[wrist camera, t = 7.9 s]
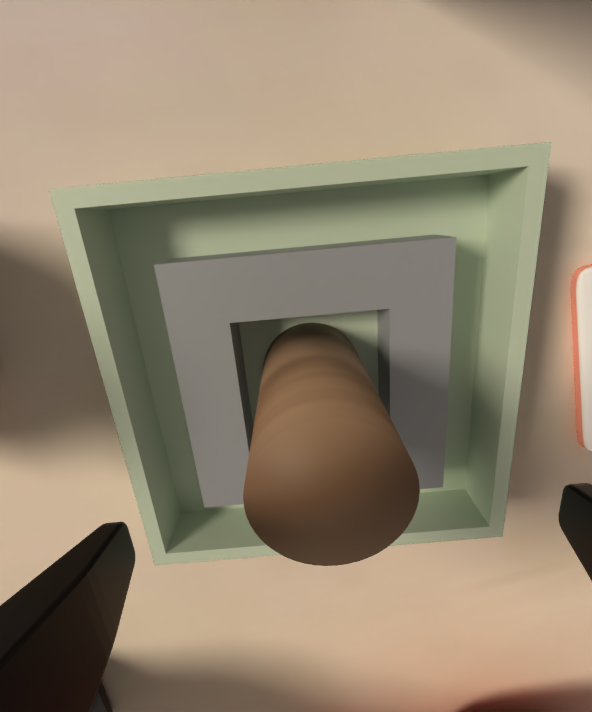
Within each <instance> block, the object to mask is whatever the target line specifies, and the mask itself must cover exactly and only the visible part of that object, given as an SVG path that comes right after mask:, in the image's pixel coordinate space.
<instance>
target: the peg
mask: <svg viewBox="0 0 592 712" xmlns="http://www.w3.org/2000/svg"><path fill="white" fill-rule="evenodd" d="M419 494H420V486H419V478H418V474H417V471H416V468H415V466H414V463H413V461H412V459H411V457H410V455H409V454H408V452H407V450H406V448H405V446H404V444H403V442H402V440H401V438H400V436H399V434H398V432H397V430H396V428H395V426H394V424H393V422H392V420H391V418H390V416H389V415H388V413H387V411H386V409H385V407H384V405H383V403H382V401H381V399H380V397H379V395H378V393H377V391H376V389H375V387H374V385H373V383H372V381H371V379H370V377H369V375H368V374H367V372H366V370H365V368H364V366H363V364H362V362H361V360H360V358H359V356H358V354H357V352H356V350H355V348H354V346H353V345H352V343H351V342H350V340H349V339H348V338H347V337H346V336H345V335H344V334H343V333H342V332H340V331H339V330H337V329H336V328H334V327H332V326H329V325H326V324H322V323H302V324H298V325H295V326H292V327H290V328H288V329H286V330H285V331H283V332H282V333H281V334H279V335H278V336H277V337H276V338H275V339H274V341H273V342H272V343H271V345H270V346H269V348H268V350H267V353H266V355H265V360H264V365H263V371H262V377H261V384H260V390H259V396H258V402H257V409H256V415H255V421H254V427H253V433H252V440H251V446H250V452H249V458H248V465H247V471H246V477H245V483H244V491H243V502H244V509H245V513H246V517H247V519H248V521H249V524H250V525H251V527H252V529H253V530H254V532H255V533H256V534H257V536H258V537H259V538H260V539H261V540H262V541H263V542H264V543H265V544H266V545H267V546H268V547H270V548H271V549H273V550H274V551H275V552H277V553H279V554H281V555H283V556H285V557H287V558H289V559H292V560H294V561H298V562H302V563H306V564H312V565H322V566H331V565H342V564H349V563H353V562H357V561H360V560H363V559H366V558H368V557H370V556H373V555H375V554H377V553H379V552H380V551H382V550H384V549H385V548H387V547H388V546H389V545H391V544H392V543H393V542H394V541H395V540H396V539H398V538H399V537H400V536H401V535H402V533H403V532H404V531H405V530H406V528H407V527H408V525H409V524H410V522H411V521H412V519H413V517H414V514H415V512H416V509H417V506H418V502H419Z"/></svg>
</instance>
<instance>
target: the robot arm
mask: <svg viewBox="0 0 592 712" xmlns="http://www.w3.org/2000/svg"><path fill="white" fill-rule="evenodd" d="M559 523H560V526H561V529H562V531H563V532H564V534H565V536H566V538H567V539H568V541H569V543H570V544H571V546H572V548H573V550H574V551H575V553H576V555H577V556H578V558H579V560H580V562H581V563H582V565H583V567H584V568H585V570H586V572H587V574H588V575H589V577H590V579H591V580H592V485H591V484H588V483H580V484H570V485H567V486H566V487H565V488H564V490H563V494H562V500H561V505H560V511H559ZM134 564H135V550H134V547H133V544H132V540H131V537H130V534H129V530H128V527H127V525H126V524H125V523H123V522H114V523H106V524H103V525H101V526H100V527H99V528H97V529H96V530H95V531H94V532H92V533H91V534H90V535H89V536H87V537H86V538H85V539H84V540H82V541H81V542H80V543H79V544H77V545H76V546H75V547H73V548H72V549H71V550H70V551H68V552H67V553H66V554H65V555H63V556H62V557H61V558H60V559H58V560H57V561H56V562H55V563H53V564H52V565H51V566H50V567H48V568H47V569H46V570H45V571H43V572H42V573H41V574H40V575H38V576H37V577H36V578H35V579H33V580H32V581H31V582H30V583H28V584H27V585H26V586H24V587H23V588H22V589H21V590H19V591H18V592H17V593H16V594H14V595H13V596H12V597H11V598H9V599H8V600H7V601H6V602H4V603H3V604H2V605H1V606H0V712H112V709H111V707H110V704H109V702H108V699H107V697H106V694H105V692H104V689H103V687H102V684H101V682H100V681H101V679H102V676H103V673H104V670H105V667H106V665H107V662H108V659H109V656H110V653H111V650H112V647H113V644H114V641H115V637H116V634H117V630H118V626H119V622H120V618H121V614H122V611H123V607H124V603H125V599H126V595H127V591H128V588H129V584H130V580H131V576H132V572H133V568H134Z"/></svg>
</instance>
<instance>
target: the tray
mask: <svg viewBox="0 0 592 712" xmlns="http://www.w3.org/2000/svg"><path fill="white" fill-rule="evenodd" d="M550 148H551V142H544V143H534V144H523V145H512V146H502V147H491V148H480V149H470V150H459V151H448V152H438V153H427V154H416V155H406V156H395V157H384V158H374V159H363V160H352V161H342V162H331V163H320V164H310V165H299V166H288V167H278V168H267V169H256V170H246V171H235V172H224V173H214V174H203V175H192V176H182V177H171V178H160V179H150V180H139V181H128V182H118V183H107V184H96V185H86V186H75V187H64V188H54V189H49V192H50V195H51V199H52V203H53V206H54V210H55V213H56V217H57V220H58V224H59V227H60V231H61V234H62V238H63V242H64V245H65V249H66V252H67V256H68V259H69V263H70V266H71V270H72V274H73V277H74V281H75V284H76V288H77V291H78V295H79V298H80V302H81V306H82V309H83V313H84V316H85V320H86V323H87V327H88V330H89V334H90V337H91V341H92V345H93V348H94V352H95V355H96V359H97V362H98V366H99V369H100V373H101V377H102V380H103V384H104V387H105V391H106V394H107V398H108V401H109V405H110V408H111V412H112V416H113V419H114V423H115V426H116V430H117V433H118V437H119V440H120V444H121V448H122V451H123V455H124V458H125V462H126V465H127V469H128V472H129V476H130V480H131V483H132V487H133V490H134V494H135V497H136V501H137V504H138V508H139V511H140V515H141V519H142V522H143V526H144V529H145V533H146V536H147V540H148V543H149V547H150V551H151V554H152V558H153V561H154V565H166V564H178V563H190V562H202V561H214V560H226V559H238V558H250V557H262V556H274V555H281V554H279V553H277V552H275V551H274V550H273V549H271V548H270V547H268V546H267V545H266V544H265V543H264V542H263V541H262V540H261V539H260V538H259V537H258V536H257V534H256V533H255V532H254V530H253V529H252V527H251V525H250V524H249V521H248V519H247V517H246V513H245V509H244V502H243V491H244V483H245V477H246V471H247V465H248V458H249V452H250V446H251V440H252V433H253V427H254V421H255V415H256V409H257V402H258V396H259V390H260V384H261V377H262V371H263V365H264V360H265V355H266V353H267V350H268V348H269V346H270V345H271V343H272V342H273V341H274V339H275V338H276V337H277V336H278V335H279V334H281V333H282V332H283V331H285V330H286V329H288V328H290V327H292V326H295V325H298V324H302V323H322V324H326V325H329V326H332V327H334V328H336V329H337V330H339V331H340V332H342V333H343V334H344V335H345V336H346V337H347V338H348V339H349V340H350V342H351V343H352V345H353V346H354V348H355V350H356V352H357V354H358V356H359V358H360V360H361V362H362V364H363V366H364V368H365V370H366V372H367V374H368V375H369V377H370V379H371V381H372V383H373V385H374V387H375V389H376V391H377V393H378V395H379V397H380V399H381V401H382V403H383V405H384V407H385V409H386V411H387V413H388V415H389V416H390V418H391V420H392V422H393V424H394V426H395V428H396V430H397V432H398V434H399V436H400V438H401V440H402V442H403V444H404V446H405V448H406V450H407V452H408V454H409V455H410V457H411V459H412V461H413V463H414V466H415V468H416V471H417V474H418V478H419V486H420V494H419V502H418V506H417V509H416V512H415V514H414V517H413V519H412V521H411V522H410V524H409V525H408V527H407V528H406V530H405V531H404V532H403V533H402V535H401V536H400V537H399V538H398V539H396V540H395V541H394V542H393V543H392V544H391V545H389V546H394V545H406V544H418V543H429V542H441V541H453V540H465V539H477V538H489V537H501V536H503V529H504V520H505V512H506V504H507V496H508V488H509V480H510V472H511V464H512V456H513V448H514V440H515V432H516V423H517V415H518V407H519V399H520V391H521V383H522V375H523V367H524V359H525V351H526V343H527V334H528V326H529V318H530V310H531V302H532V294H533V286H534V278H535V270H536V262H537V254H538V245H539V237H540V229H541V221H542V213H543V205H544V197H545V189H546V181H547V173H548V165H549V156H550Z"/></svg>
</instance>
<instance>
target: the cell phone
mask: <svg viewBox="0 0 592 712" xmlns="http://www.w3.org/2000/svg"><path fill="white" fill-rule="evenodd" d="M571 314H572V336H573V358H574V380H575V402H576V425H577V436H578V440H579V443H580V444H581V445H582V446H583V447H585V448H586V449H587V450H589V451H592V264H590V265H587V266H583V267H581V268H579V269H577V270H576V271H575V273H574V274H573V276H572V280H571Z"/></svg>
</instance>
